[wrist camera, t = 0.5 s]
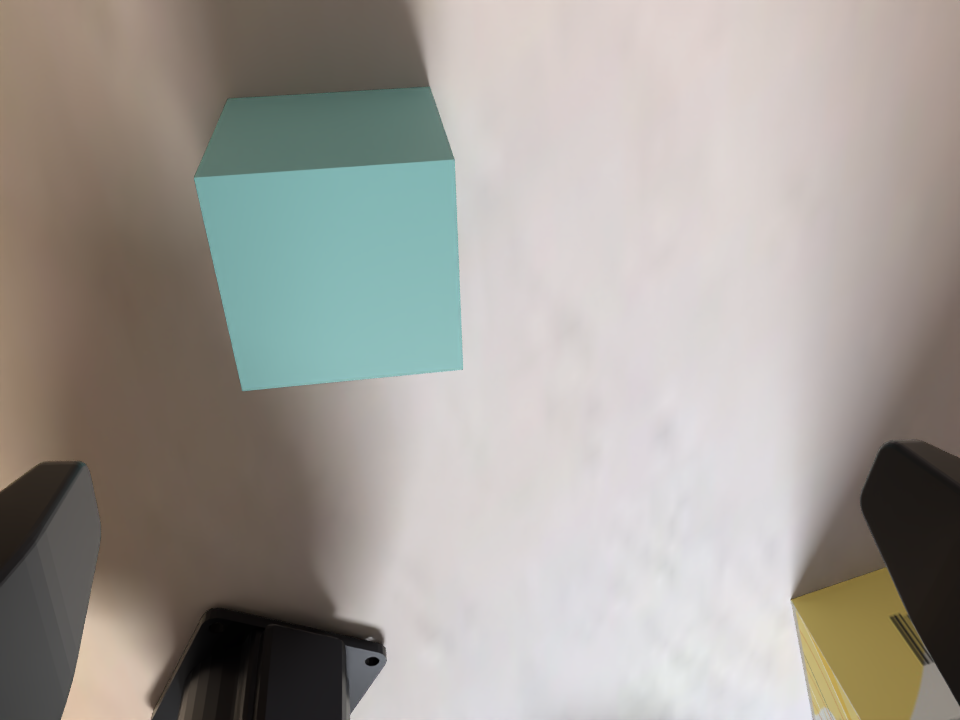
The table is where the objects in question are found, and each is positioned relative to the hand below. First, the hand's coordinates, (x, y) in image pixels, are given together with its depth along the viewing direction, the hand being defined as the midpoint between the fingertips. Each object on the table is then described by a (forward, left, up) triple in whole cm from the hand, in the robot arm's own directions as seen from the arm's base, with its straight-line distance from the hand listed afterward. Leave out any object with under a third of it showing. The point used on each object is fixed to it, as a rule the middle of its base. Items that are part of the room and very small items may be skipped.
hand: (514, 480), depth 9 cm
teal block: (-2, +1, -12) cm, 12 cm away
